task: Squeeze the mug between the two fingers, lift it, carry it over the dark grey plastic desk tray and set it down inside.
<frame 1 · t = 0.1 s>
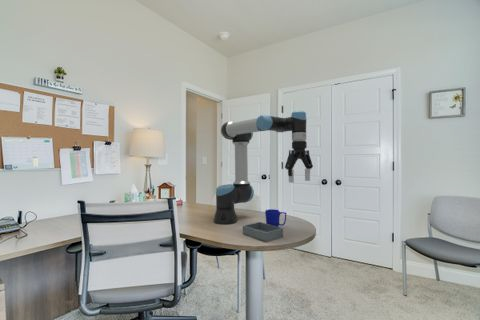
hand: (299, 181, 129), 28 cm above the table, fingers open, 13 cm apart
tray: (262, 235, 129), on the table
mug: (275, 228, 142), on the table
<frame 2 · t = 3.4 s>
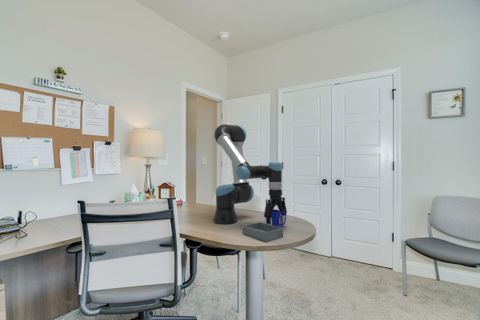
hand: (276, 227, 142), 0 cm above the table, fingers open, 9 cm apart
mug: (275, 228, 142), on the table, touching gripper
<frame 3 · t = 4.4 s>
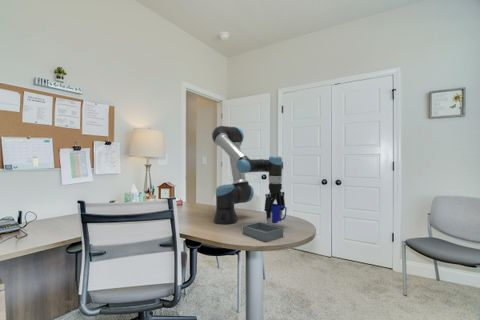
hand: (274, 222, 143), 3 cm above the table, fingers closed on mug, 7 cm apart
mug: (276, 222, 143), point 3 cm above the table, touching gripper
when the fingers open (4 cm above the table, at t = 10.3 s): mug stays where it is, resting on tray.
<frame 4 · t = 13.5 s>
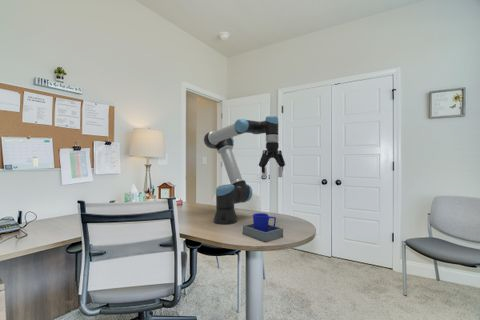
hand: (272, 177, 147), 29 cm above the table, fingers open, 13 cm apart
mug: (264, 234, 129), resting on tray
at the end: mug inside the target area on the tray (1.1 cm from its centre), point 0.4 cm above the tray's base; mug tilted 0°; the gripper is holding nothing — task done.
